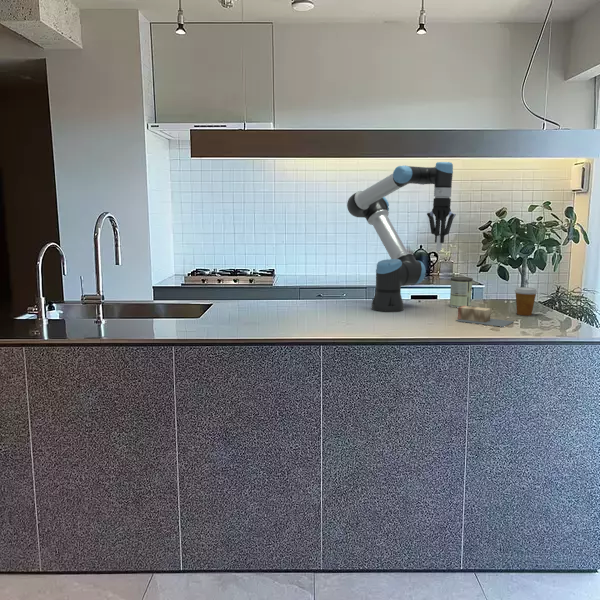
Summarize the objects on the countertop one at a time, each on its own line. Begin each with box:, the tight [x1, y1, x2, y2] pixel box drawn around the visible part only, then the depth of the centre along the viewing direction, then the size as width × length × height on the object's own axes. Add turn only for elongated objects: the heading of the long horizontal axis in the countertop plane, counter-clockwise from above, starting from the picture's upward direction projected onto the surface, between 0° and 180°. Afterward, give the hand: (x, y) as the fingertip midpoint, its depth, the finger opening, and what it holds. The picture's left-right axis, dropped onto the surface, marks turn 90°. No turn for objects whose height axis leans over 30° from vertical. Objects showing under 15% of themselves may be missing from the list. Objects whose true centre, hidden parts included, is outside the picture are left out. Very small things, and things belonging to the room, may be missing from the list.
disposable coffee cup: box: [514, 286, 538, 317], centre depth 255 cm, size 10×10×12 cm
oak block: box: [457, 305, 492, 322], centre depth 241 cm, size 5×6×12 cm
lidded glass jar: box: [449, 276, 473, 309], centre depth 275 cm, size 10×10×14 cm
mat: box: [455, 318, 515, 328], centre depth 238 cm, size 20×14×1 cm
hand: (438, 250), depth 256 cm, fingers closed
